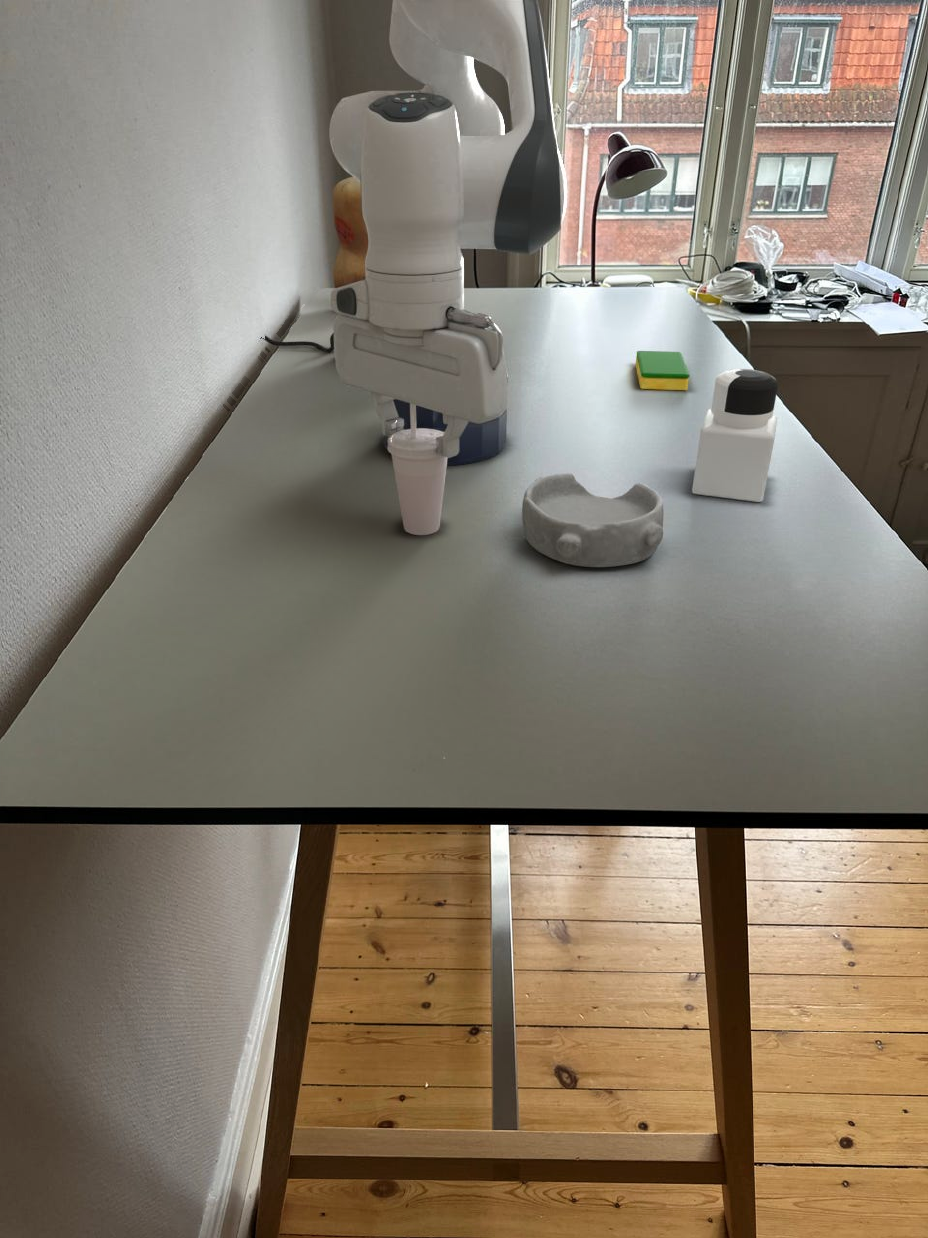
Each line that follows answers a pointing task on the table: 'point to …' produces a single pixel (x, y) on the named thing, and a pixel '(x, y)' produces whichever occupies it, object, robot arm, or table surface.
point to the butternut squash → (349, 233)
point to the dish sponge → (661, 370)
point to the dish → (591, 522)
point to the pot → (474, 440)
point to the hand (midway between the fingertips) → (419, 445)
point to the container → (737, 437)
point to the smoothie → (418, 476)
